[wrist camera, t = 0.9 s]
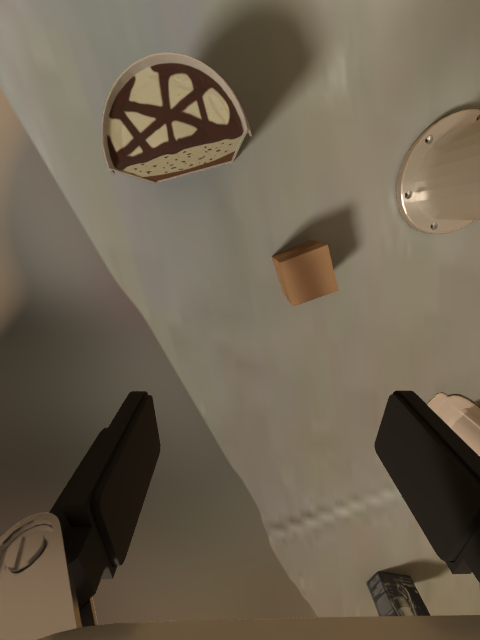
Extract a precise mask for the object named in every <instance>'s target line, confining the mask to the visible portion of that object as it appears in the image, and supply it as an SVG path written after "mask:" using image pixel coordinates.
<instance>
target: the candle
mask: <svg viewBox="0 0 480 640" xmlns="http://www.w3.org/2000/svg"><path fill="white" fill-rule="evenodd" d="M427 405H428V406H429V407H430V408H431V409H432V410H433V411H434V412H435V413H436V414H437V415H438V416H439V417H440V418H441V419H442V420H443V421H444V422H445V423H446V424H447V425H448V426H449V427H450V428H451V429H452V430H453V431H454V432H455V433H456V434H457V435H458V436H459V437H460V438H461V439H462V440H463V441H464V442H465V443H466V444H467V445H468V446H470V447H471V448H472V449H473V450H474V451H475V452H476V453H477V454H478V455H479V456H480V408H479V407H477V406H476V405H475V404H473V403H472V402H470V401H469V400H468V399H465V398H463V397H461V396H459V395H451V396H447V395H446V394H443V393H438V394H436V397H434V398H433V399H432V400H431V401H430V402H429V403H428V404H427Z"/></svg>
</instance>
